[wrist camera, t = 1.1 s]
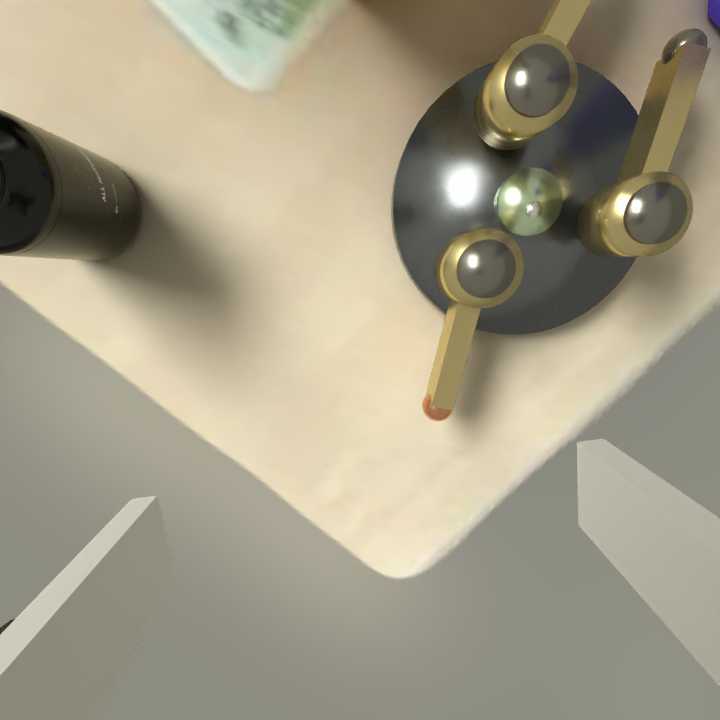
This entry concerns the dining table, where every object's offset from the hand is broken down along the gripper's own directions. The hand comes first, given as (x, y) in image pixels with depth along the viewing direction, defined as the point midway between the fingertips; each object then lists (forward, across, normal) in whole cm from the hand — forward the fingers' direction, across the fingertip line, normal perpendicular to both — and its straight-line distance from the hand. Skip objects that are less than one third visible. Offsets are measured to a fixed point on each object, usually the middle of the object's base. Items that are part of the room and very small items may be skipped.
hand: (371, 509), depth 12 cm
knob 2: (+16, +18, +11) cm, 27 cm away
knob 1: (+16, +6, +2) cm, 18 cm away
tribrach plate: (+18, +12, +10) cm, 24 cm away
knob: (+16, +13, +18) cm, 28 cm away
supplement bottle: (+19, -16, +13) cm, 28 cm away
